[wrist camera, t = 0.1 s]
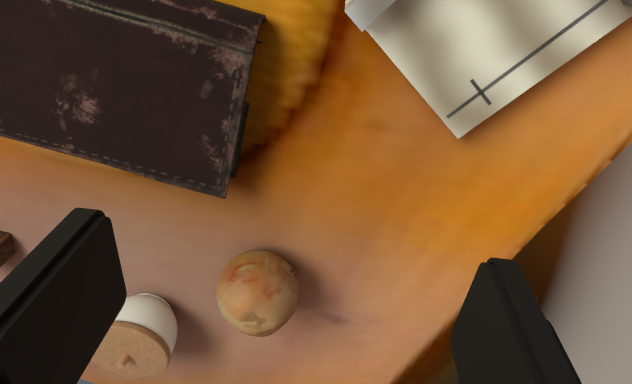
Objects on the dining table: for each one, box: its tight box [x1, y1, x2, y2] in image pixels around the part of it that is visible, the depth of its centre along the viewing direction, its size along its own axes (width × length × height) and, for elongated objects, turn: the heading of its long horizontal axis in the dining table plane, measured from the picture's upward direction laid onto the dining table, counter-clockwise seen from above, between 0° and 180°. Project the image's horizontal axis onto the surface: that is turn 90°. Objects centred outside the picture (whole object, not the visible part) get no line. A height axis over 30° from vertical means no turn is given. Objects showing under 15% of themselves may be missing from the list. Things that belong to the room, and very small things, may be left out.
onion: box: [216, 250, 300, 337], centre depth 48 cm, size 10×10×10 cm
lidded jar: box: [92, 293, 178, 379], centre depth 55 cm, size 11×11×9 cm
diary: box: [0, 0, 267, 199], centre depth 39 cm, size 19×25×5 cm
